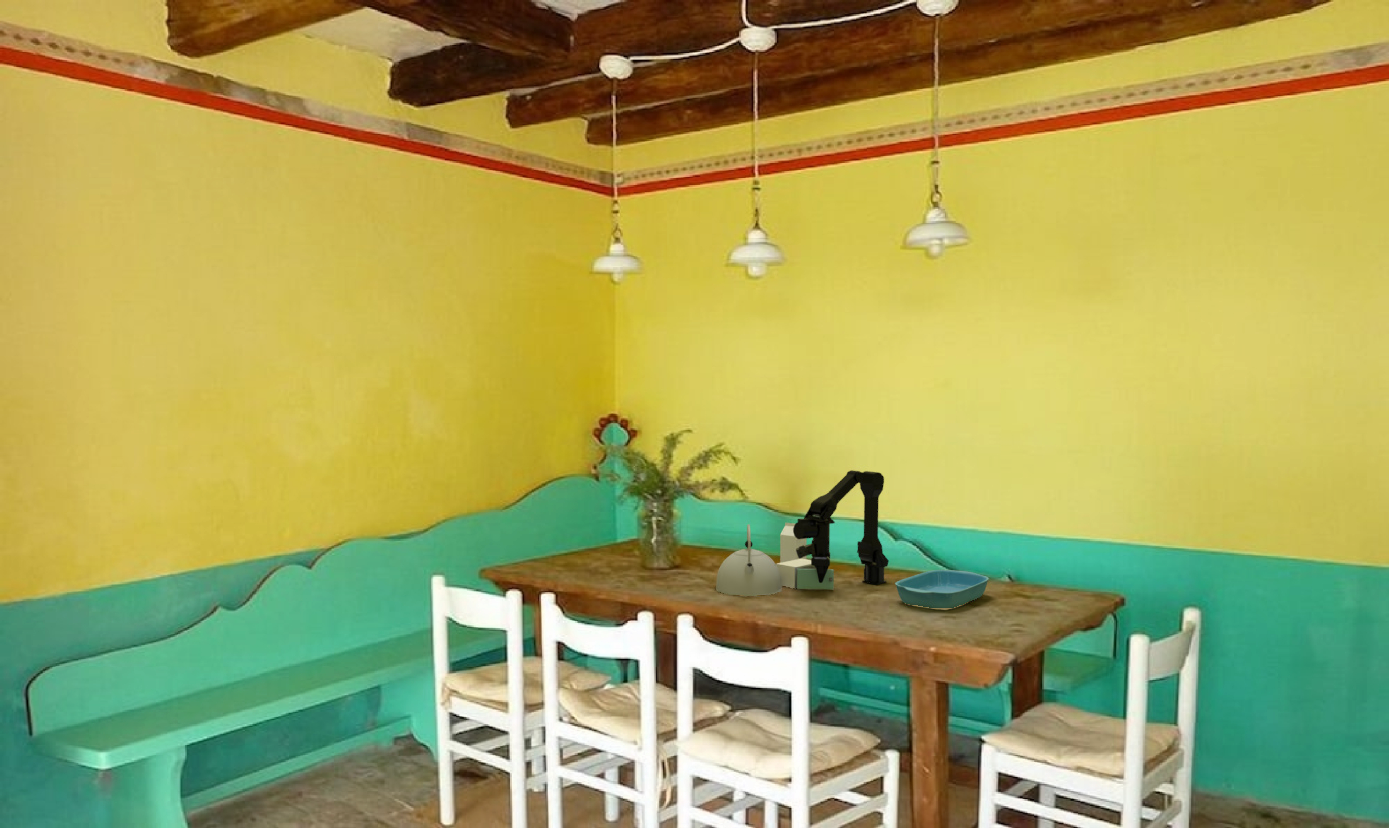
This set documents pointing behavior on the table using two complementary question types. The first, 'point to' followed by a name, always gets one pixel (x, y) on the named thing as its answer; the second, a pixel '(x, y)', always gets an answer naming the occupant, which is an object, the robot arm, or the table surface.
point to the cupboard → (792, 571)
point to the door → (814, 579)
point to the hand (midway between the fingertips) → (820, 582)
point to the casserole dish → (941, 588)
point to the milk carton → (789, 544)
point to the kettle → (748, 573)
